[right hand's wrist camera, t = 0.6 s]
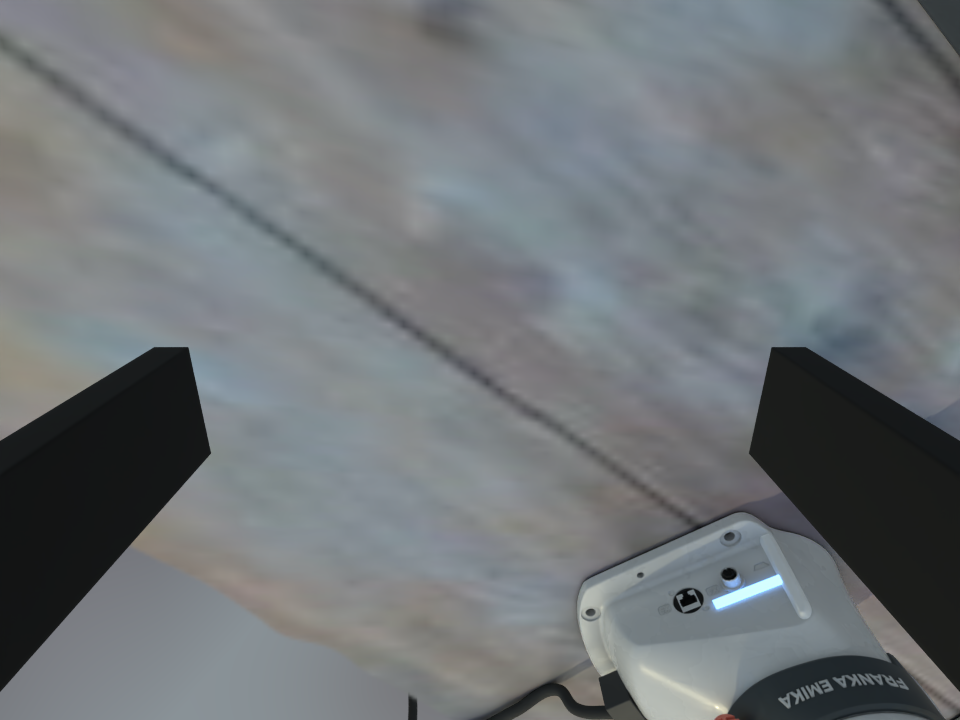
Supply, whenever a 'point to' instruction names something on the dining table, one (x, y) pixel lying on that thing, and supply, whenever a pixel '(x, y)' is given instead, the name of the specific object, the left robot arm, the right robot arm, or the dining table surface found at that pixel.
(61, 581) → the right robot arm
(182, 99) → the dining table surface
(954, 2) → the beam
